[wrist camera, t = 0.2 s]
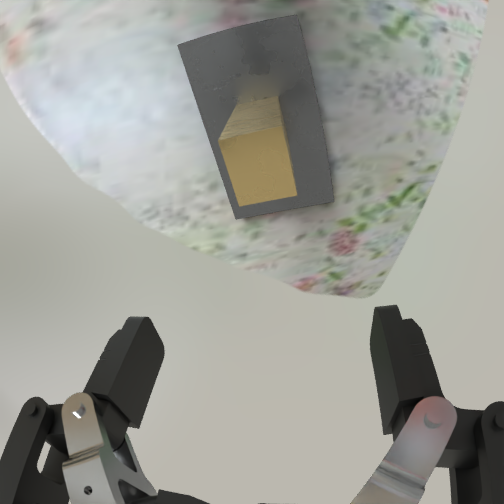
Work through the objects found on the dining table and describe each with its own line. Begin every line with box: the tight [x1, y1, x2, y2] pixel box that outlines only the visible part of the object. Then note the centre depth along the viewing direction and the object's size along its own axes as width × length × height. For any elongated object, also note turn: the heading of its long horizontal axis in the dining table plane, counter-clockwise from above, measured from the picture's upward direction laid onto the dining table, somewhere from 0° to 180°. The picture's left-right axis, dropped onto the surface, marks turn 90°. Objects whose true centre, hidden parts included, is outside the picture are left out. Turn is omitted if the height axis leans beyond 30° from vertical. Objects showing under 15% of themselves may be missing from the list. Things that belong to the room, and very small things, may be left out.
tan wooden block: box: [218, 96, 297, 207], centre depth 21 cm, size 4×4×10 cm
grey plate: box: [178, 15, 334, 219], centre depth 26 cm, size 18×10×2 cm, turn 15°
